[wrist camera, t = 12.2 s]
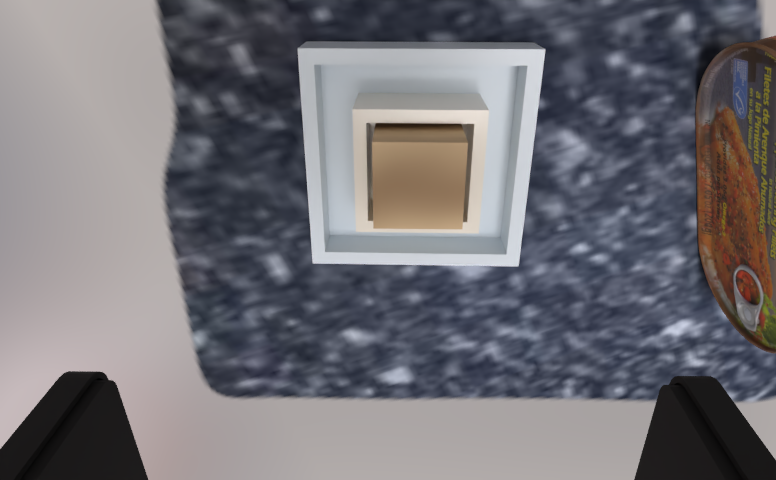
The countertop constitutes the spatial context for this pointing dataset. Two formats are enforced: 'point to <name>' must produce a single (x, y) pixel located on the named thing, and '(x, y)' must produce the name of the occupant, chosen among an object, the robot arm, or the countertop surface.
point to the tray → (418, 75)
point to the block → (418, 175)
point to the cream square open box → (419, 110)
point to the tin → (739, 186)
